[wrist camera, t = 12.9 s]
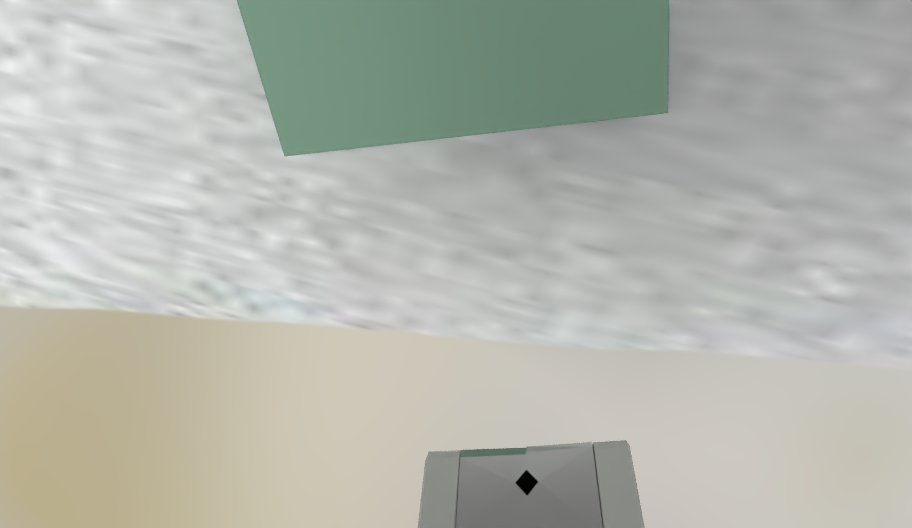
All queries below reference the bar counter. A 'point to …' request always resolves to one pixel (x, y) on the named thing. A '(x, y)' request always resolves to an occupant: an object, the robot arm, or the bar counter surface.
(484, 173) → the bar counter surface
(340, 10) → the board
